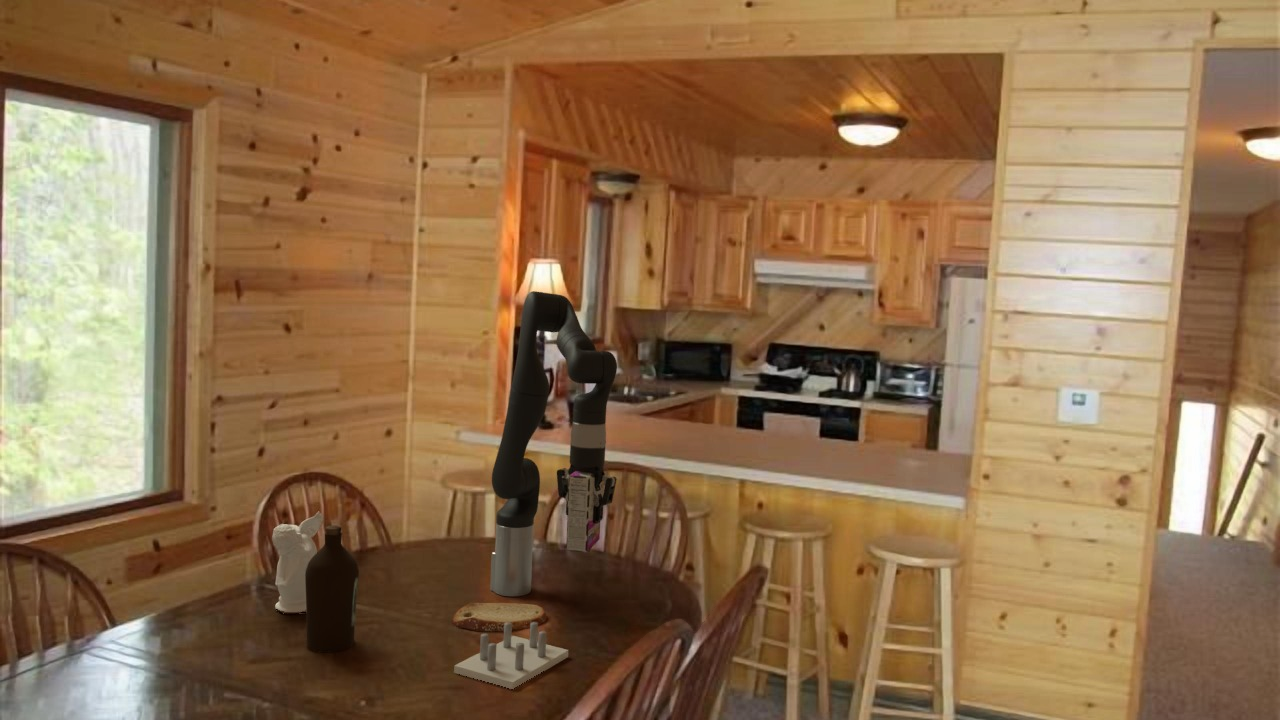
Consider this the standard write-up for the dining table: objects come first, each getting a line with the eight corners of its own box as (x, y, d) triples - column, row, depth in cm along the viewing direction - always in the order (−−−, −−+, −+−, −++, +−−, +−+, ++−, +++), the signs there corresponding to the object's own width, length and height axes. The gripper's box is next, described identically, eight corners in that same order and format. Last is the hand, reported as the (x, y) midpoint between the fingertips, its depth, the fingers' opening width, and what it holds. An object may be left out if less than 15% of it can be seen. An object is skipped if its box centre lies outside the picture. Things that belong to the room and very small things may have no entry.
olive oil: (307, 656, 201) (310, 535, 199) (300, 638, 211) (303, 522, 208) (361, 650, 206) (364, 531, 204) (352, 632, 215) (355, 519, 213)
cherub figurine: (278, 619, 221) (278, 522, 219) (257, 603, 231) (257, 510, 228) (330, 608, 229) (331, 514, 227) (308, 593, 239) (309, 503, 236)
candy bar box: (578, 537, 222) (582, 464, 220) (599, 540, 220) (604, 467, 219) (564, 550, 211) (568, 474, 209) (586, 553, 210) (591, 476, 208)
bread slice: (553, 617, 232) (553, 602, 232) (511, 642, 216) (512, 625, 215) (488, 603, 239) (488, 588, 239) (443, 626, 223) (444, 609, 223)
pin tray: (454, 672, 197) (455, 641, 196) (512, 642, 214) (514, 613, 214) (512, 689, 190) (513, 656, 190) (568, 657, 208) (569, 626, 207)
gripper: (550, 441, 214) (546, 518, 215) (608, 450, 207) (604, 529, 208) (568, 436, 220) (565, 511, 222) (625, 445, 214) (621, 522, 215)
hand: (583, 519), depth 215 cm, fingers closed on candy bar box, 5 cm apart
